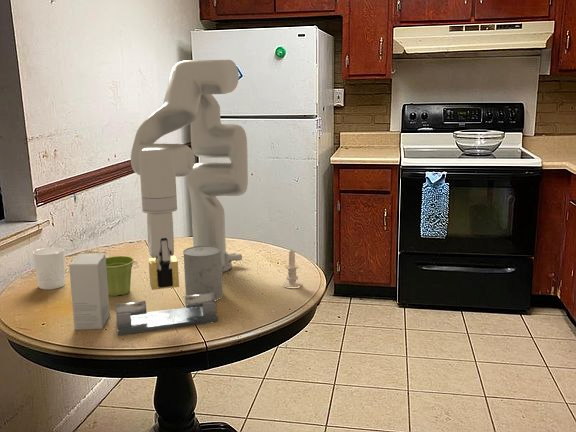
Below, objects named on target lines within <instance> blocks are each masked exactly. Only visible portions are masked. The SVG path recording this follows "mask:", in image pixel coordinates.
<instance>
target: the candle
mask: <svg viewBox="0 0 576 432" xmlns="http://www.w3.org/2000/svg"><path fill="white" fill-rule="evenodd" d="M295 251H296V250H294V249H291V250H289V251H288V264H287V265H285V266H284V268H285V269H287V273H288V275H287V276H286V278H285V279H286V280H287V281H284V282H283V283H282V286H283V285H284V286H286V287H298V286H301V285H302V286H303V283H302V282H301V281H298V280H299V276H298V275H297V269H300V265H298V264H296V254H295ZM302 286H301V287H302Z"/></svg>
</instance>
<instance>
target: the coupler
mask: <svg viewBox="0 0 576 432" xmlns="http://www.w3.org/2000/svg"><path fill="white" fill-rule="evenodd" d="M160 256H162V255H160ZM160 261H162V259H160ZM178 262H179V261H178V259H177V257H176V255H173V256H171V268H172V276H173V286H171V287H162V288H159V287H158V276H157V270H158V259H157V258H152V257H150V258H148V272H149V285H150V288H151V291H153V290H163V289H173V288H179V287H180V279H179V278H180V277H179V263H178Z"/></svg>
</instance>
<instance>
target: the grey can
mask: <svg viewBox="0 0 576 432" xmlns="http://www.w3.org/2000/svg"><path fill="white" fill-rule="evenodd" d="M182 254H183V265H184V286H185V288H184V289H185V296H187V295H195V294H204V293H212V292H213V293H214V298H215V300H217V299H219V298H221V297H222V295H223V296H224V292H223V276H222V275H223V272H222V267H221V249H220V248H218V247H215V246H195V247H193V246H191V247H187V248H185V249H184V250H183V251H182ZM222 298H223V297H222ZM222 298H221V299H222ZM217 301H218V300H217Z"/></svg>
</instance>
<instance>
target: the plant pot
mask: <svg viewBox="0 0 576 432" xmlns="http://www.w3.org/2000/svg"><path fill="white" fill-rule="evenodd" d="M134 262H135V258H134V257H132V256H127V255H117V256H115V255H114V256H109V257H106V271H107V285H108V297H109V296H111V297H118V296H119V295H122V296H124V295H127V294H128V293H129V292H131V280H132V279H131V278H132V268H133V264H134Z"/></svg>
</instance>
